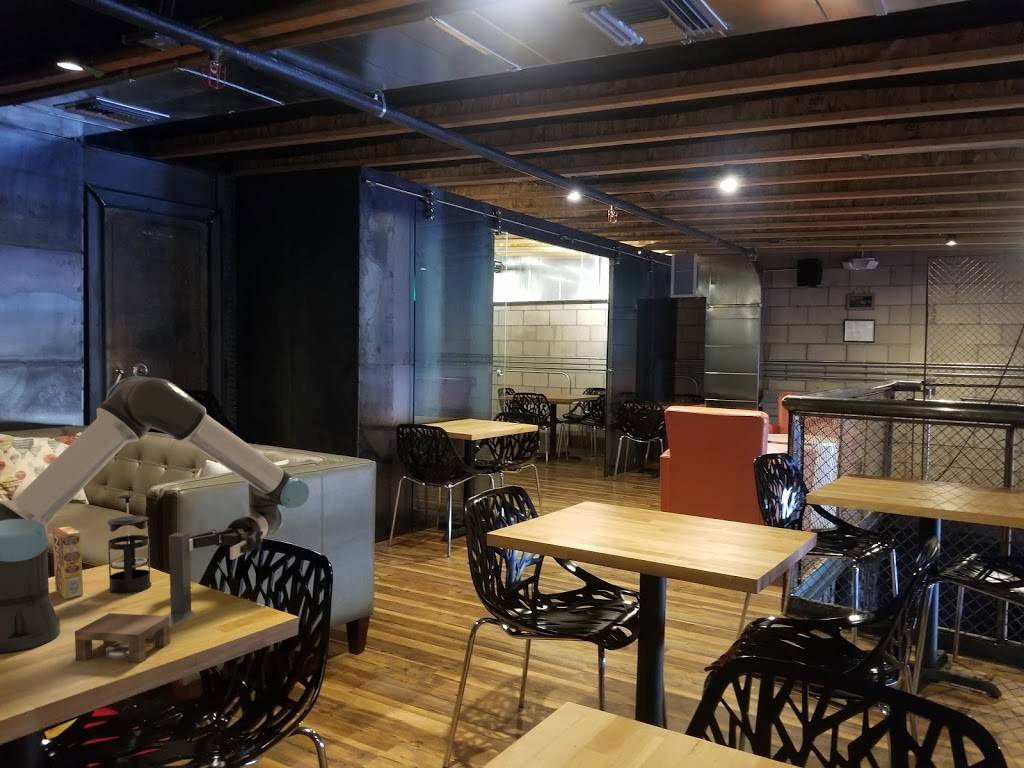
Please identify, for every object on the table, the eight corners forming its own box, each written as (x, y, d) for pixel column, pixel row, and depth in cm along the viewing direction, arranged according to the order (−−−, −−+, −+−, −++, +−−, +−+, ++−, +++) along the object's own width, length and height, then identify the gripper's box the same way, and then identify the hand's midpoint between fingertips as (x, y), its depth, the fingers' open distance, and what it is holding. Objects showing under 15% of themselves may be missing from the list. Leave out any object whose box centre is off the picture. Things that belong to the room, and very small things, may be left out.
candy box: (84, 595, 186) (81, 531, 185) (64, 599, 183) (61, 534, 182) (73, 587, 192) (70, 525, 192) (53, 591, 189) (51, 528, 189)
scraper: (130, 638, 159) (127, 550, 158) (172, 612, 174) (170, 532, 173) (158, 639, 158) (155, 551, 157) (197, 613, 173) (195, 533, 172)
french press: (150, 592, 188) (147, 497, 187) (106, 597, 185) (103, 500, 184) (152, 578, 199) (150, 488, 198) (111, 582, 196) (108, 491, 194)
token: (100, 659, 149) (100, 651, 149) (116, 648, 154) (116, 641, 154) (125, 660, 148) (125, 653, 148) (140, 650, 153) (140, 642, 153)
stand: (75, 660, 148) (74, 631, 148) (110, 640, 158) (109, 613, 158) (139, 663, 146) (138, 634, 146) (169, 643, 156) (169, 616, 156)
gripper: (293, 546, 200) (255, 570, 179) (201, 543, 204) (154, 567, 183) (293, 517, 200) (254, 538, 179) (201, 515, 203) (153, 535, 182)
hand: (203, 552), depth 181 cm, fingers open, 13 cm apart
